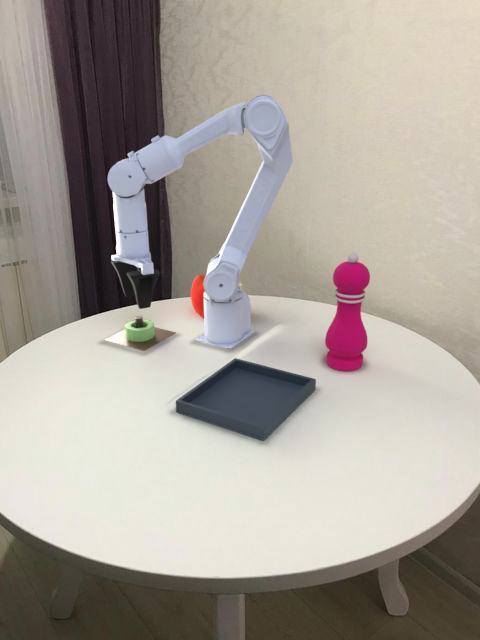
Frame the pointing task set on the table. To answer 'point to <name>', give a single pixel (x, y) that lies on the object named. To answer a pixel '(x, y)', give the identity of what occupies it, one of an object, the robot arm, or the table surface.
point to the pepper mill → (348, 316)
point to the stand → (143, 346)
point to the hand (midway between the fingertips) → (137, 301)
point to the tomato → (198, 294)
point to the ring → (139, 331)
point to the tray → (247, 398)
